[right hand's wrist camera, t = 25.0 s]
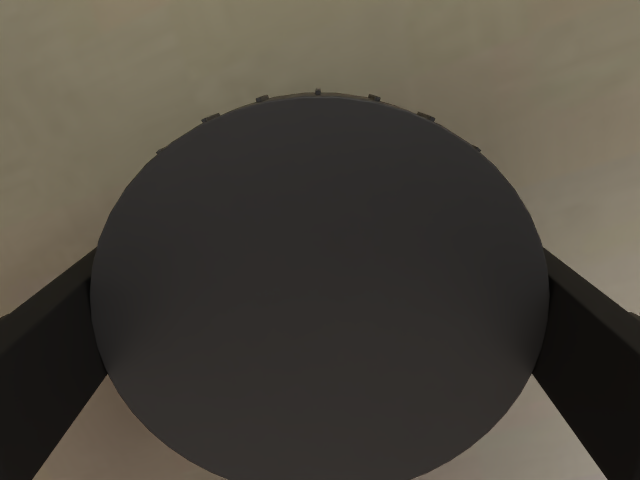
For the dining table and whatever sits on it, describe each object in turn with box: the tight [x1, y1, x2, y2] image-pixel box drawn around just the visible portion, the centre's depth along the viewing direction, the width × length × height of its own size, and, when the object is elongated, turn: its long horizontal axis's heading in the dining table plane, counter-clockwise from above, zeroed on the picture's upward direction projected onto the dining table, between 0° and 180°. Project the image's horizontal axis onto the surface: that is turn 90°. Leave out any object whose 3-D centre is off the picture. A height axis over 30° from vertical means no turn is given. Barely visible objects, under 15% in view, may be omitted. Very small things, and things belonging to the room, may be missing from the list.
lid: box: [90, 89, 550, 480], centre depth 11 cm, size 11×11×2 cm
